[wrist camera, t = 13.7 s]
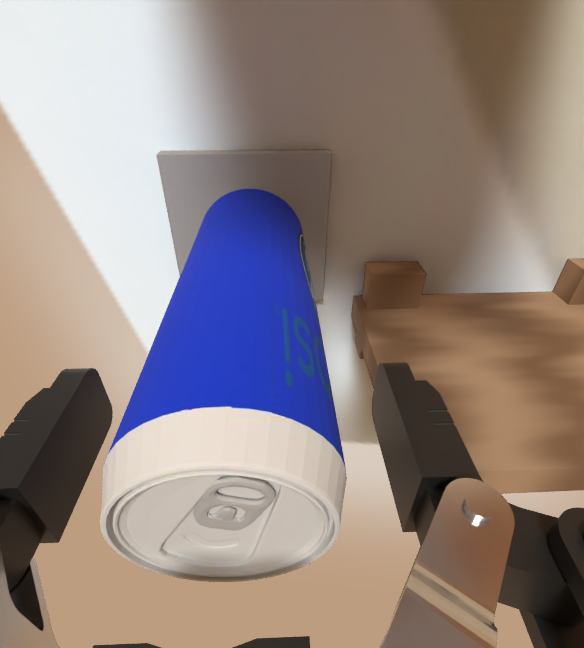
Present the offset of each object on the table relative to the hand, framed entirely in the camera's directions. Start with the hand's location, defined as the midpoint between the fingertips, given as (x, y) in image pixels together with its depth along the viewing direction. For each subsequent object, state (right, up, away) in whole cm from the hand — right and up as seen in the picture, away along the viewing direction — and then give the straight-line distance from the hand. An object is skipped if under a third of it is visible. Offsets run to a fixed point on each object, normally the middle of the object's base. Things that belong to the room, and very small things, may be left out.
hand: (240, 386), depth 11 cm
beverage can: (-1, +6, +9) cm, 11 cm away
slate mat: (-1, +7, +9) cm, 12 cm away
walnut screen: (+13, +3, +13) cm, 19 cm away
